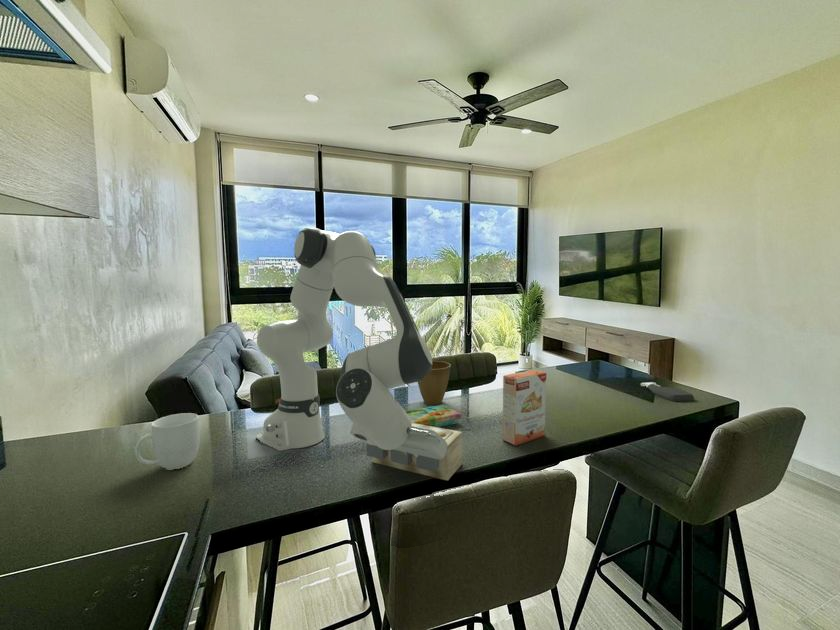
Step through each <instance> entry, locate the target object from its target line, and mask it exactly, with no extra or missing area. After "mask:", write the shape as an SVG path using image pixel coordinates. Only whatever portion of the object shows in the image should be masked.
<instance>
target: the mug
mask: <svg viewBox="0 0 840 630" xmlns="http://www.w3.org/2000/svg"><path fill="white" fill-rule="evenodd" d="M199 420H200V419H199V415H198V414H197V413H192V412H187V413H185V412H184V413H183V412H181V413H176V414H169V415H166V416H162V417H160V418H157V419H155V420H154V421H152V423H151V425H150V426H151V432H150V433H146V434H144V435H142V436H141V437H140V438H139V439H138V441H137V442H136V443H135V444H136V445H135V448H134V455H135V457H136V459H137V461H138V462H139V463H141V464H144V465H149V466H150V465H160V466H161V467H162V468H163V467H165V468H175V467H181V466H184V465H187V464H189V463H190V462H192V461H193V460H195V458H196V456H197V454H198V451H199V447H200V433H201V432H200V423H199ZM146 439H147V440H148V439H151V440H152V445H153V451H154V452H153V453H154V454H155V458H156V459H154V460H148V459H145V458H143V456H142V455H141V453H140V447H141V444H142V443H143V442H144V441H145V440H146ZM193 462H194V461H193ZM193 462H192V463H193Z"/></svg>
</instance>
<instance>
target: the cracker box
mask: <svg viewBox="0 0 840 630" xmlns="http://www.w3.org/2000/svg"><path fill="white" fill-rule="evenodd" d="M502 386H503V387H502V388H503V389H502V439H501V440H502V441H505V442H507V443H509V444H511V445H513V446H515V447H517V446H519V445H522V444H525V443H527V442H530V441H533V440H535V439H536V440H537V439H539V438H542V437H544V436H545V434H546V404H547V403H546V400H547V373H546V372H544V371H540V370H535V369H531V370H530V369H529V370H525V371H519V372H514V373H509V374H504V375H503V377H502Z"/></svg>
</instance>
